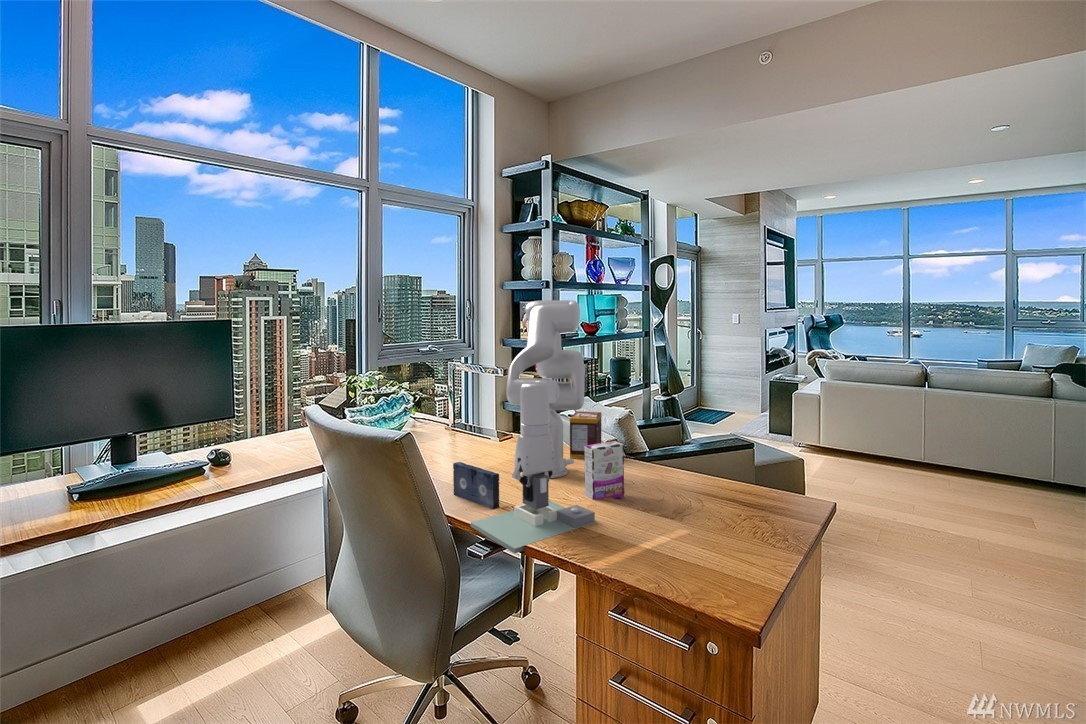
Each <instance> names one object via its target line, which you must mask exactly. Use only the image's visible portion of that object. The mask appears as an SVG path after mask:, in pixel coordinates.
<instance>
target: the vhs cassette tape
mask: <svg viewBox="0 0 1086 724" xmlns="http://www.w3.org/2000/svg"><path fill="white" fill-rule="evenodd" d="M452 469H453V470H452V471H453V479H452V480H453V496H454V497H455V496H456V497H458V498H461V499H464V500H466V501H469V502H472V503H475V504H478V505H480V506H482V507H486V508H487V509H488V508H489V509H491V510H495V509H498V508H500V482H499V481H500V474H499V473H496V472H495V471H491V470H488V469H484V468H481V467H479V466H475V465H472V464H468V463H464V462H462V461H456V462H453V464H452Z"/></svg>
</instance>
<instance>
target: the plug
mask: <svg viewBox="0 0 1086 724" xmlns="http://www.w3.org/2000/svg"><path fill="white" fill-rule="evenodd" d="M526 480H527V478H526ZM531 486H532V488H533V501H532V502H529V501H527V500H525V499H524V497H523V496H522V504H526V505H528V506H530V507H532V508H534V509H540V508H543V507H547V506H549V501H550V499H549V497H550V496H549V482H548V476H547V475H544V474H542V473H539V474H534V475H532V481H531Z"/></svg>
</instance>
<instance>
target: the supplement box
mask: <svg viewBox="0 0 1086 724" xmlns="http://www.w3.org/2000/svg"><path fill="white" fill-rule="evenodd" d="M598 443H602V411H583V410H577V411H576V410H575V412H574V413H573V414H572V415H571V417H569V459H571V458H572V459H577V460H578V459H580V460H581V459H582V460H583V459H584V460H585V445H592V444H598Z"/></svg>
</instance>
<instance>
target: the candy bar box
mask: <svg viewBox="0 0 1086 724" xmlns="http://www.w3.org/2000/svg"><path fill="white" fill-rule="evenodd" d="M624 448H625V445H624V443H622V442H620V441H617V440H612V441H607V442H606V441H605V442H601V443H598V444H592V445H585V459H584V495H585V497H587V498H589V499H591V500H592V501H593V500H601V499H605V498H612V499H615V500H617V499H618V500H619V499H622V498H624V497H625V453H624V451H625V449H624Z"/></svg>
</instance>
